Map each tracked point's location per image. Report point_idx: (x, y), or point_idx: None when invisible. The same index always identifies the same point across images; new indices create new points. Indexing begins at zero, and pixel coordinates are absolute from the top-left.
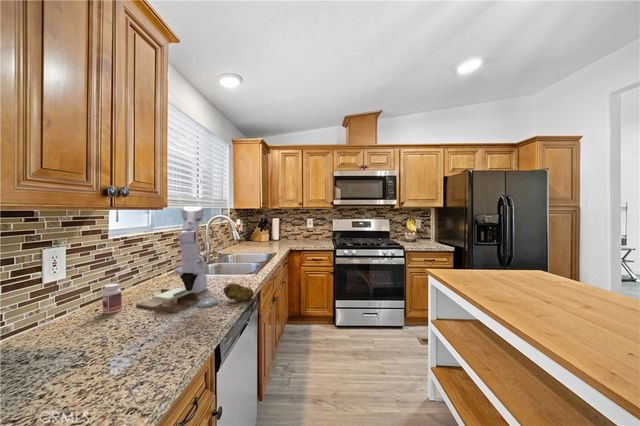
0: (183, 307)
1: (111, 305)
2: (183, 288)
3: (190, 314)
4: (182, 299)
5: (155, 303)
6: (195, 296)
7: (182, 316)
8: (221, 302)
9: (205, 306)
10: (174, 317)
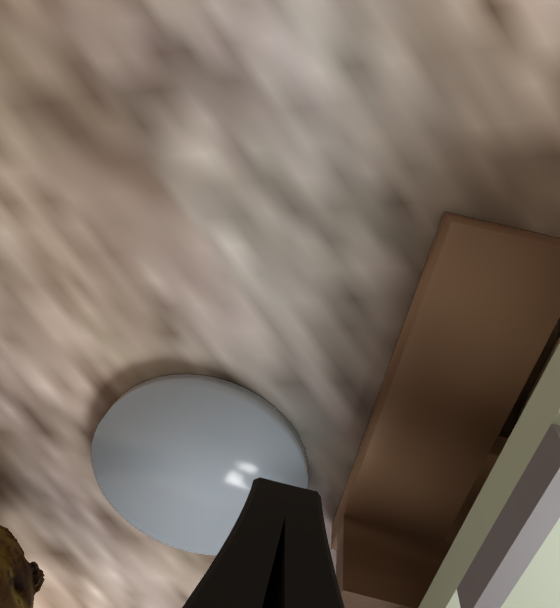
0: (393, 357)
1: None
2: None
3: (184, 180)
4: None
5: None
6: (346, 552)
7: (242, 107)
8: (89, 492)
9: (149, 384)
10: (330, 59)
